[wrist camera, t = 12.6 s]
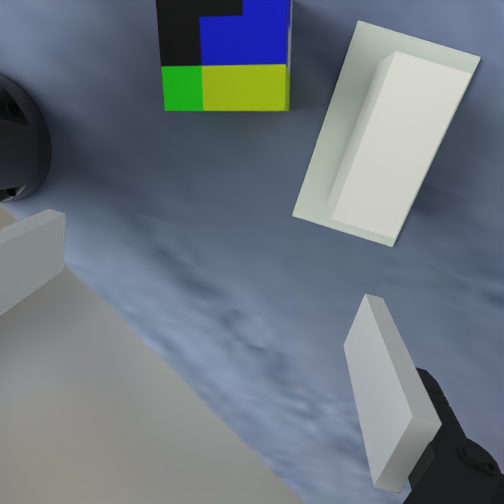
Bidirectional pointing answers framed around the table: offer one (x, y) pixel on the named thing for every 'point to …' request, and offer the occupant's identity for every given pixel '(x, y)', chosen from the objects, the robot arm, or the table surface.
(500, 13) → the table surface
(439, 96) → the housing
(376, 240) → the plate
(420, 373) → the robot arm
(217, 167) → the table surface
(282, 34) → the puzzle toy
